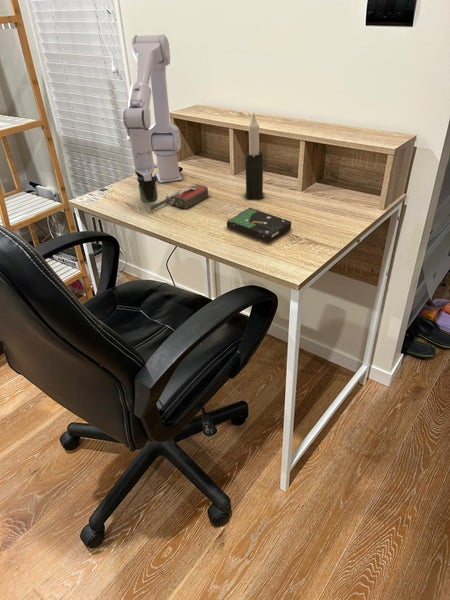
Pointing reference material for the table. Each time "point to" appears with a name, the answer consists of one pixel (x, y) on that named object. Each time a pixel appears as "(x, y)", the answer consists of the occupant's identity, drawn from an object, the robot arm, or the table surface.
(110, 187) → the table surface
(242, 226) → the disk drive
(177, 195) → the walkie-talkie
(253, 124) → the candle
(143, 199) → the green cup
